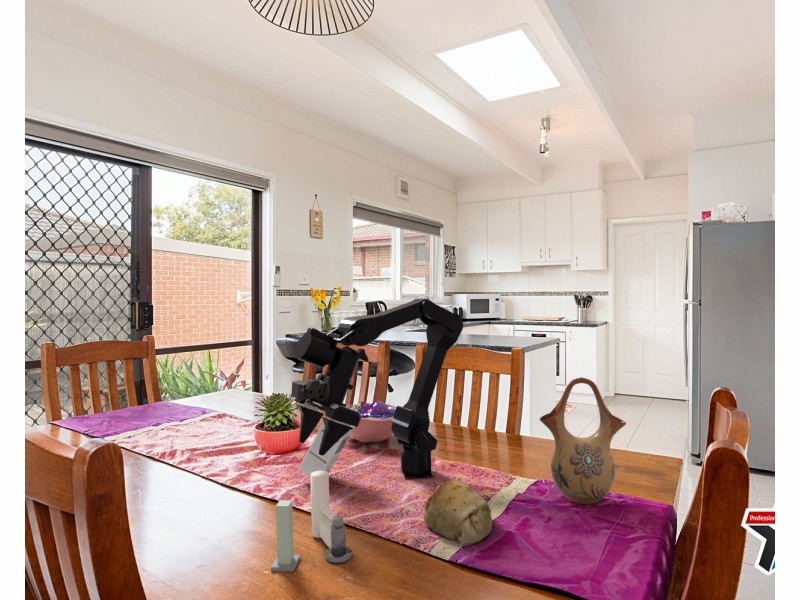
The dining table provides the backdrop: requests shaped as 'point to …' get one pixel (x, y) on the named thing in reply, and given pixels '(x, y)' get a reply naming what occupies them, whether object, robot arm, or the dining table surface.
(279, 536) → the post
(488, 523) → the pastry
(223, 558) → the dining table surface
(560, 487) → the ceramic vessel
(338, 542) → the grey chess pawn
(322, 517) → the gate
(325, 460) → the syrup box
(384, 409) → the cell model
